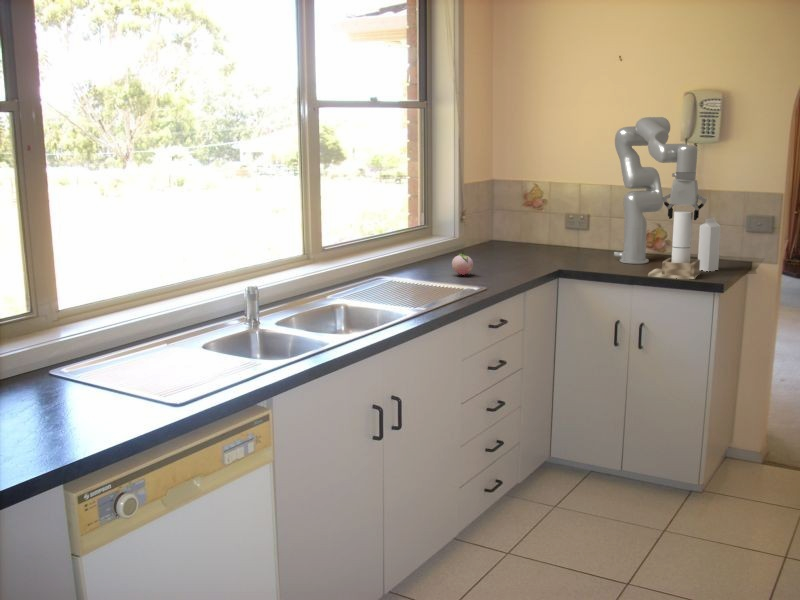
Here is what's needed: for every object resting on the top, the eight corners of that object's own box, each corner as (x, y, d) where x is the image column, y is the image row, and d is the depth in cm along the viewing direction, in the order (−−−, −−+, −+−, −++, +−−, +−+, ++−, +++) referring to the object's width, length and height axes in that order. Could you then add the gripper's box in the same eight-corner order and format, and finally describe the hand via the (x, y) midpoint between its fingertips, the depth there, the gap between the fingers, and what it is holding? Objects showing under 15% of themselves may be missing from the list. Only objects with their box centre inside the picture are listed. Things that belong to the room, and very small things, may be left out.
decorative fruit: (448, 275, 359) (448, 251, 357) (465, 273, 362) (465, 250, 360) (458, 278, 351) (458, 254, 349) (476, 277, 354) (476, 253, 352)
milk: (718, 270, 361) (722, 218, 356) (708, 272, 358) (711, 219, 353) (706, 268, 366) (710, 217, 361) (696, 269, 363) (700, 218, 359)
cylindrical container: (690, 272, 352) (693, 211, 347) (688, 275, 346) (691, 213, 340) (672, 270, 355) (675, 210, 350) (669, 273, 349) (673, 212, 343)
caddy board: (648, 276, 350) (648, 261, 349) (655, 271, 361) (656, 256, 360) (693, 279, 342) (694, 264, 340) (699, 274, 353) (700, 259, 351)
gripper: (661, 176, 343) (658, 219, 347) (706, 178, 335) (703, 221, 339) (665, 175, 349) (663, 216, 353) (710, 176, 341) (706, 219, 345)
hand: (682, 219), depth 346 cm, fingers open, 9 cm apart
